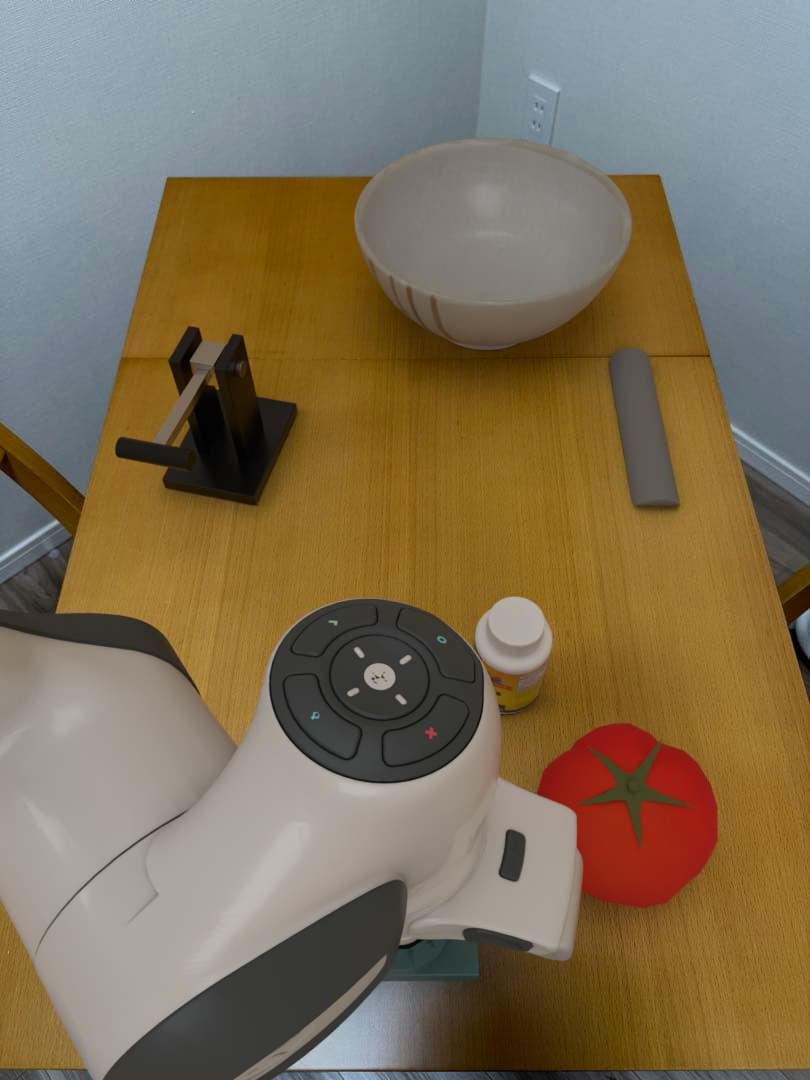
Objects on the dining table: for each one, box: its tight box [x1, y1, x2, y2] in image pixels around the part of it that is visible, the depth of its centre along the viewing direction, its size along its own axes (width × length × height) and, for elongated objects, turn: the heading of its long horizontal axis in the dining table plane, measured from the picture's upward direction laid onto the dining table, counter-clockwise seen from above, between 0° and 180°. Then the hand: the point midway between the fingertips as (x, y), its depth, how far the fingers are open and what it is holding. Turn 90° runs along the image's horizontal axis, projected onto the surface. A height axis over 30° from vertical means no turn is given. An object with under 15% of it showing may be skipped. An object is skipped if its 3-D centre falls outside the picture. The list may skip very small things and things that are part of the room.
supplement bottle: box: [472, 596, 553, 715], centre depth 63 cm, size 6×6×10 cm
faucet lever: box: [114, 339, 227, 472], centre depth 70 cm, size 13×6×2 cm, turn 166°
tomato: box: [536, 722, 719, 909], centre depth 56 cm, size 12×12×10 cm
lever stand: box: [161, 325, 298, 506], centre depth 77 cm, size 12×9×13 cm
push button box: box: [381, 939, 481, 982], centre depth 56 cm, size 10×7×4 cm
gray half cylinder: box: [608, 347, 681, 507], centre depth 82 cm, size 4×20×2 cm, turn 179°
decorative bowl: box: [353, 137, 633, 351], centre depth 88 cm, size 27×27×12 cm
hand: (391, 902), depth 51 cm, fingers closed
